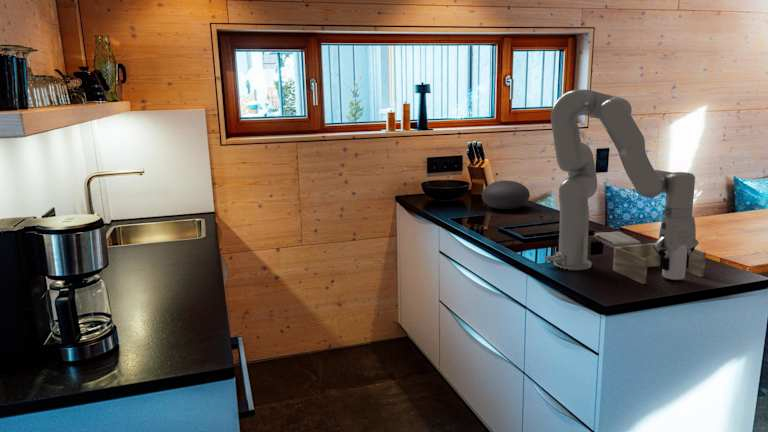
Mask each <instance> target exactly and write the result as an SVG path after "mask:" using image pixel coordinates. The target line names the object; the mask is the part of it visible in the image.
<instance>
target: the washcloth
mask: <svg viewBox="0 0 768 432" xmlns="http://www.w3.org/2000/svg"><path fill="white" fill-rule="evenodd" d="M594 237H595V238H596V240H597V239H598V240H599V241H598V240H597V241H598V242H600V241H601V243H603V244H604V245H607V246H608V247H610V248H613V249H614V247H620V246H630V245H640V244H642V242H641V241H640V240H638V239H636V238H634V237H633V236H630V235H628V234H625V233H623V232H622V231H618V230H617V231H610V232H607V231H606V232H605V231H601V232H595V233H594V235H593V238H594ZM595 238H594V239H595Z"/></svg>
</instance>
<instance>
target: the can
mask: <svg viewBox="0 0 768 432" xmlns="http://www.w3.org/2000/svg"><path fill="white" fill-rule="evenodd" d="M665 252H666V249H665ZM668 258H669V259H670V260H669V270H664V269H662V268H661V269H662V270H661V271H662V272H661V275H662V277H663V278H664V279H667V280H673V281H681V280H684V279H685V278H686V259H687V247H686V246H685V245H682V246H680V247H679V248H678V249H677V250H671V251H670V254H669V256H668Z"/></svg>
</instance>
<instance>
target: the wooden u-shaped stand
mask: <svg viewBox="0 0 768 432" xmlns="http://www.w3.org/2000/svg"><path fill="white" fill-rule="evenodd" d="M655 243H656V242H653V243H651V242H650V243H643V244H642V243H641V244H640V245H630V246H620V247H614V248H613V259H612V260H613V261H612V270H613V272H615V273H618V274H621V275H623V276H625V277H627V278H629V279H631V280H633V281H635V282H637V283H640V284H641V285H644V284H645V285H646V284H647V273H648V268H651V267H653V268H654V267H660V258H661V256H659V254H658V253H657V252H656V250H655V249H654V248H653V245H654V244H655ZM660 248H662V247H660ZM706 256H707V252H705V251H702V250H698V249H697V248H695V249H694V250H693V251H692V254H691V255H690V256H689V267H688V268H686V271H685V273H689V274H691V275H694V276H697V277H698V278H699V277H700V278H703V277H705V268H706Z"/></svg>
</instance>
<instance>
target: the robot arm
mask: <svg viewBox="0 0 768 432" xmlns="http://www.w3.org/2000/svg"><path fill="white" fill-rule="evenodd" d="M632 111H633V110H632V105H631V103H630V102H629V101H628V100H627V99H625V98H623V97H619V96H615V95H610V94H606V93H602V92H598V91H596V90H595V91H594V90H590V89H573V90H570V91H568V92H565V93H564V94H562V95H561V96H560V97H559V98H558V99H557V100H556V101H555V102H554V104H553V106H552V108H551V112H550V122H551V130H552V135H553V136H552V137H553V142H554V143H553V144H554V151H555V156H556V162H557V165H558V167H559V169H560V170H561V171H563V172H565V173H567V175H568V177H567V178H565V179H564V180H563V181H562V182H561V184H560V186H559V188H558V202H559V203H558V204H559V236H558V251H556V252H555V254H553V255H547V256H545V262H547V263H549V262H553V265H554V266H555V267H556V266H557V268H558V267H560V268H559V269H562V268H563V269H562V270H566V269H568V270H567V271H584V270H589V269H591V267H592V265H593V262H592V261H590V260H589V259H588V252H589V251H588V249H589V248H588V245H589V227H590V223H589V221H590V207H589V199H590V198H592V197H593V196H594V195H595V194H596V191H597V190H598V178H597V171H596V166H595V159H594V154H593V151H592V149H591V147H590V146H588V144H586V143H584V142H582V140H581V134H580V128H579V124H578V122H577V120H578V117H579V116H587V117H591V118H593V119H598V120H600V122H601V124H602V126H603V128H604V129H605V131H606V132H607V134H608V136H609V138H610V140H611V141H612V143H613V145H614V147H615V148H616V150H617V152H618V156H619V159H620V160H621V161H620V162H621V163H622V166H623V169H624V171H625V173H626V175H627V177H628V178H629V181H630V182H631V184H632V185H633V187H634V189H635V190H636V192H637V193H638V194H639V195H641V196H642V197H645V198H648V199H649V198H655V197H657V196H658V195H659V196H660V194H664V193H665V206H664V210H662V214H663V215H664V216H663V217H662V219H661V222H660V223H661V224H660V226H659V227H660V229H659V232H658V233H659V234H658V240H657V241H656V242H654V243H655V244H654V245H653V248H654V249H655V250H656V252H657V253H658V254H659V256H661V258H660V266H659V268H660V269H664V270H669V260H670V259H669V258H668V256H669V254H670V251H671V250H677V249H678V248H679V247H680V246H682V245H685V246H686V247H687V259H686V268H688V267H689V256H690V255H691V254H692V251H693V250H694V249H696V247H697V246H698V245H699V242H700V241H698V240H697V238H696V232H697V229H696V222H695V216H693V209H694V197H695V184H696V176H695V174H694V173H692V172H685V171H683V172H682V171H677V172H676V171H675V172H673V171H666V170H660V169H654V167H653V165H652V164H651V162H650V160H649V157H648V155H647V151H646V142H645V141H646V140H645V136H644V135H643V132H642V131H641V130H640V128H639V127H638V124H637V123H636V121H635V120H634V118H633V116H632V113H633V112H632ZM660 247H662V248H660ZM665 249H666V252H665Z"/></svg>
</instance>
